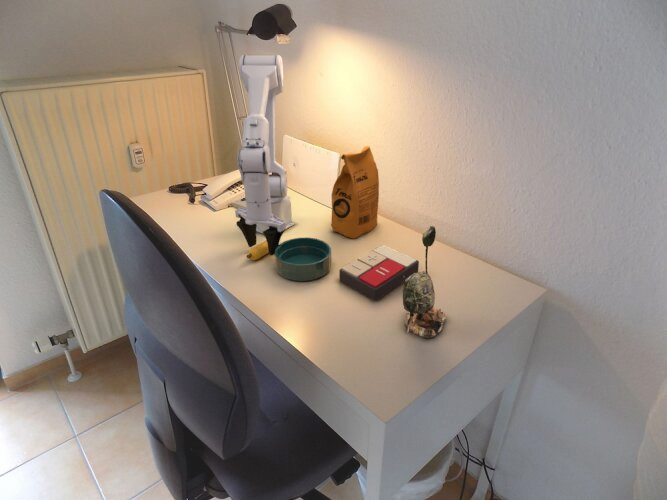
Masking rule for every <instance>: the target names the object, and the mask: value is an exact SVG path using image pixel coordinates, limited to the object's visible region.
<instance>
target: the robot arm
mask: <svg viewBox="0 0 667 500" xmlns="http://www.w3.org/2000/svg"><path fill="white" fill-rule="evenodd" d="M238 68H239V76H240V79H241V81H242V83H243V86H244V88H245V90H246V92H247V93H248V116H246V117H245V118H244V119H243V127H242V139H241V149H238V152H237V165H238V171H239V172H240V178H241V179H240V180H241V182H243V188H244V195H245V199H246V209H245V208H235V209H234V212H235V218H238V219H239V220H237V221H236V224H235V225H236V226H237V227H238V228H239V230H240V231H241V233H242V235H243V237H244V239H245V241H246V243H247V246H248V247H249V248H253V247H255V246H257V233H260V234H263V235H264V238H265V241H266V240H267V244H268V250H269V253H268V254H269V256H275V249H276V248H277V246H278V245H279V244H280V241H281V239H282V236H283V235H284V232H285V231H286V230H287V229H289V228H291V227H293V226H294V225H295V222H294V221H293V216H292V215H293V214H292V202H291V200H290V198H289V196H288V187H289V186H288V177H287V170H286V168H285V167H284V166H283V165H282V164H280V163H278V161H277V158H276V155H277V154H276V151H277V150H276V100H277V96H278V95H280V94H281V93H283V89H284V63H283V58H282V56H281V55H280V54H276V55H272V54H271V55H269V54H268V55H266V54H265V55H262V54H261V55H259V54H258V55H257V54H256V55H255V54H254V55H251V54H250V55H249V54H248V55H247V54H241V56H240V57H239V62H238ZM270 173H276V174H270Z"/></svg>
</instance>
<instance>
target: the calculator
mask: <svg viewBox="0 0 667 500" xmlns="http://www.w3.org/2000/svg"><path fill="white" fill-rule="evenodd" d="M419 265H420V261H419V260H418V259H416V258H414V257H411V256H409V255H407V254H404V253H402V252H400V251H399V250H396V249H394V248H392V247H389V246H387V245H385V244H381V245H380V246H378V247H375V248H374V249H372V250H370V251H368V252H367V253H365V254H363V255H362V256H360V257H358V258H357V259H355V260H352V261H351V262H349V263H347V264H346V265H344V266H343V267H341V268H340V269H339V270H338V271H339V272H338V273H339V282H341V283H343V284H344V285H346V286H348V287H349V288H351V289H353V290H354V291H357V292H358V293H360V294H362V295H363V296H365V297H366V298H367V297H368V298H369V299H371V300H373V302H376V301H378V300H380V299H381V298H383V297H384V296H386V295H387V294H388V293H390V292H391V291H393V290H395V289H396V288H397V287H398V286H400V285H402V284H404V282H405V280H406V279H407V278H408V277H409V276H410V275H412V274H414V273H419V268H420V267H419ZM403 276H405V277H403Z"/></svg>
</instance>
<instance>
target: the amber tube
mask: <svg viewBox="0 0 667 500" xmlns="http://www.w3.org/2000/svg"><path fill="white" fill-rule="evenodd" d="M267 254H269V250H268V244H267V240H266V239H265V240H264V241H262V242H260V243H259V244H256V245H254V246H253V247H251V248H250V249H249V250H248V253H247V254H246V259H251V260H253V261H258V260H259V259H261V258H263V257H264V256H266V255H267Z"/></svg>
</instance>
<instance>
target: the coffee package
mask: <svg viewBox="0 0 667 500" xmlns="http://www.w3.org/2000/svg"><path fill="white" fill-rule="evenodd" d="M340 159H341V160H343V163H344V164H343V165H342V168H341V171H340V174H339V176H338V177H337V178H336V180H335V181H334V184H333V186H332V190H331V191H332V192H331V224H330V225H331V228H332V230H333V232H335V233H338V234H340V235H342V236H344V237H346V238H350V239H356V238H358V237H360V235H362V234H367V233H370V232H371V231H372V229H373V228H375V227H376V226H378V209H379V199H380V198H379V197H380V179H379V169H378V166H377V163H376V161H375V159H374V155H373V152H372V150H371V146H370V145H366V146H364V147H363V148H362V150H361V151H360V152H355V153H354V152H353V153H346V154H345V153H343V154H342V155H341V156H340Z"/></svg>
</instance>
